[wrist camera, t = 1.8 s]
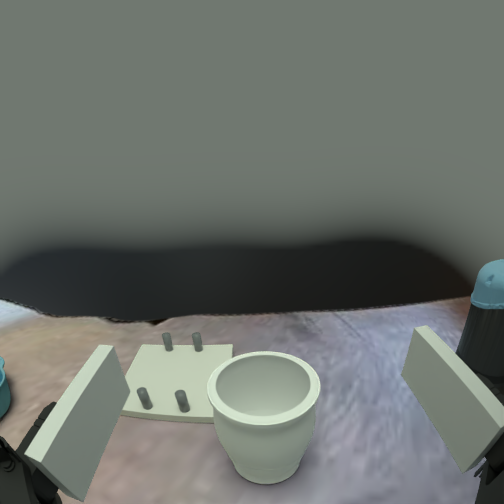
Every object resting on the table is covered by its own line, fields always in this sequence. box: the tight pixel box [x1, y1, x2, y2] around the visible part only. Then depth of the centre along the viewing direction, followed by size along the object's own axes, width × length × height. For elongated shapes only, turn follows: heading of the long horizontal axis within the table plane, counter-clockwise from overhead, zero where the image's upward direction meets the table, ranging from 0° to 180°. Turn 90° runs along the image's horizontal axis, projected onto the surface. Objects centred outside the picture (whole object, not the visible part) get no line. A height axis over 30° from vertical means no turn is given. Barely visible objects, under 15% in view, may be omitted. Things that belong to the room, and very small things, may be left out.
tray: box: [120, 332, 233, 423], centre depth 43 cm, size 19×19×5 cm
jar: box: [207, 351, 320, 484], centre depth 25 cm, size 11×10×15 cm
